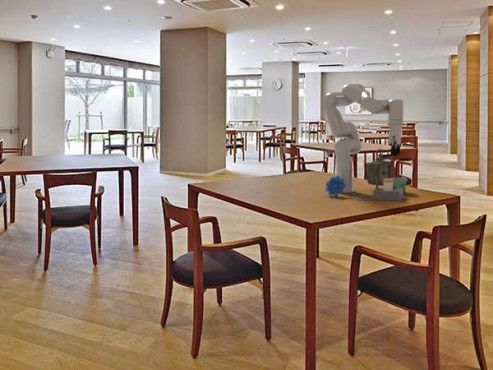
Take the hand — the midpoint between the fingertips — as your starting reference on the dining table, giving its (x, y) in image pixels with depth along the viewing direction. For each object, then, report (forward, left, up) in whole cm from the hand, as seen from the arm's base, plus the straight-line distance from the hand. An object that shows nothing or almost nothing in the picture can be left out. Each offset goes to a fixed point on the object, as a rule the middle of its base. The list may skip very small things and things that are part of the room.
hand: (395, 155), depth 263 cm
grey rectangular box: (-3, -3, -24) cm, 24 cm away
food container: (0, +15, -24) cm, 28 cm away
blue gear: (-33, -1, -24) cm, 41 cm away
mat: (-15, -9, -24) cm, 30 cm away
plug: (-3, -3, -23) cm, 24 cm away
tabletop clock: (-15, +26, -24) cm, 38 cm away
